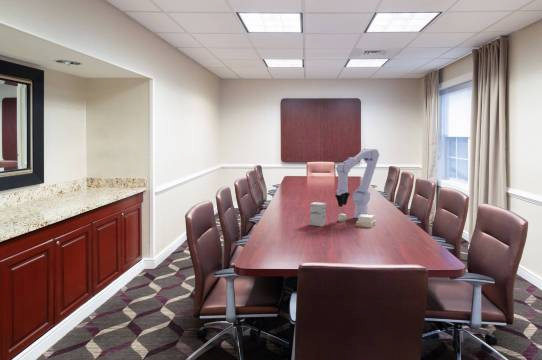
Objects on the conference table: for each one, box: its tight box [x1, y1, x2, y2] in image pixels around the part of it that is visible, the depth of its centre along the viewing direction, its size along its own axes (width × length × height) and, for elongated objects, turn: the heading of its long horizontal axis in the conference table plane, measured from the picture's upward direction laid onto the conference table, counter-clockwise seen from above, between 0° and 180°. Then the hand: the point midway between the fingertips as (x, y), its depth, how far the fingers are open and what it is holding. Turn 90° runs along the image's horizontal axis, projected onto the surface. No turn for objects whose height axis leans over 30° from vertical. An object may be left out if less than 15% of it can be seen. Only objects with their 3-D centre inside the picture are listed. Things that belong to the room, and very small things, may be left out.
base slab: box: [355, 219, 377, 229], centre depth 224 cm, size 9×9×3 cm
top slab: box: [357, 214, 376, 223], centre depth 224 cm, size 8×8×3 cm
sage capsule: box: [337, 213, 347, 223], centre depth 236 cm, size 4×4×4 cm
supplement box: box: [309, 201, 327, 227], centre depth 225 cm, size 7×7×13 cm
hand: (342, 205), depth 236 cm, fingers open, 7 cm apart
